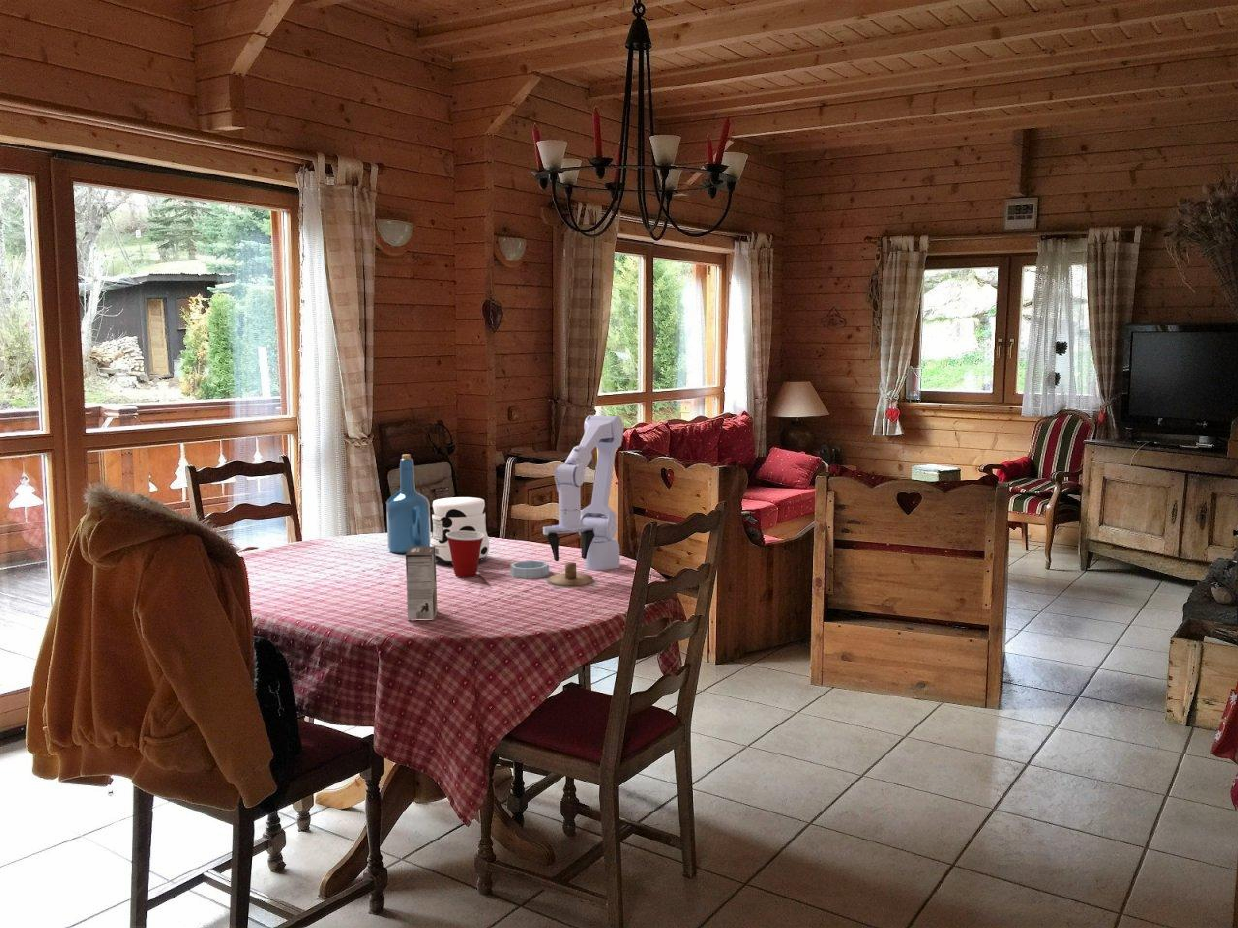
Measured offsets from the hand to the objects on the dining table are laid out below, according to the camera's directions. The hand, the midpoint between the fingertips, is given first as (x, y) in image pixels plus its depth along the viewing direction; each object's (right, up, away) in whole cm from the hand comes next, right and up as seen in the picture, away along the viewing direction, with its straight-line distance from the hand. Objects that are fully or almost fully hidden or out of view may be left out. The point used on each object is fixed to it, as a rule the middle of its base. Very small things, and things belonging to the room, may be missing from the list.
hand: (570, 559), depth 273 cm
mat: (0, -7, +1) cm, 7 cm away
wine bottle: (-53, -2, +47) cm, 70 cm away
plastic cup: (-30, -6, +13) cm, 33 cm away
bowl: (-12, -6, +10) cm, 16 cm away
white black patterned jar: (-34, -4, +31) cm, 46 cm away
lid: (0, -6, +1) cm, 6 cm away
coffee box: (-34, -11, -28) cm, 45 cm away
